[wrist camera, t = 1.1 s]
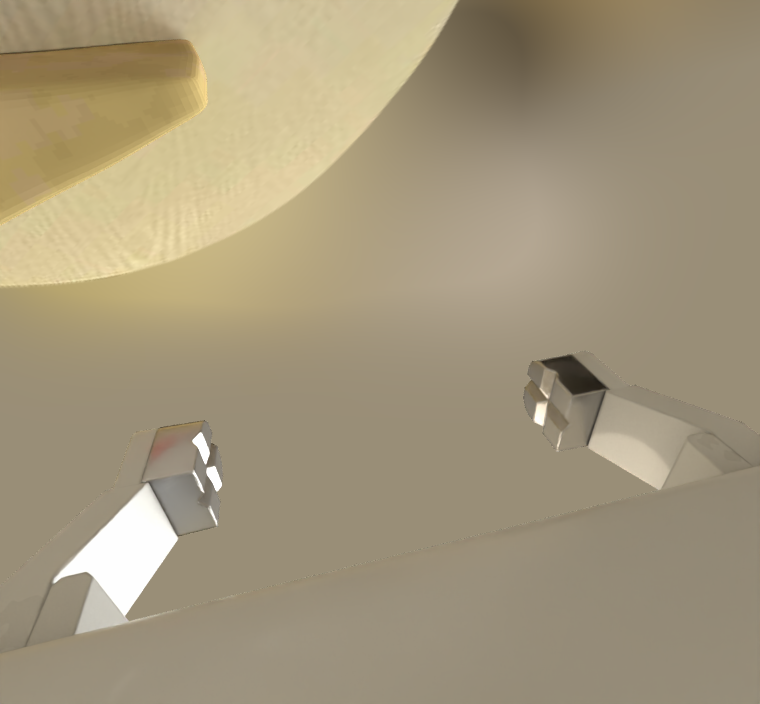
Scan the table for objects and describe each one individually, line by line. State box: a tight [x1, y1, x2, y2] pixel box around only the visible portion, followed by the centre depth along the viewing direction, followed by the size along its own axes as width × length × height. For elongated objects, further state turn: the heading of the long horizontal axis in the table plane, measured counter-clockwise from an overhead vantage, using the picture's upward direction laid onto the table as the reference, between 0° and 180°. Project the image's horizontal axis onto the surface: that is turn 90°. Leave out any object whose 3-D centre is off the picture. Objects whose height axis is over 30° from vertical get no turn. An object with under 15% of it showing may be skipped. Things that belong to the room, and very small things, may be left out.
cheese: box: [0, 40, 207, 225], centre depth 32 cm, size 22×10×15 cm, turn 99°
